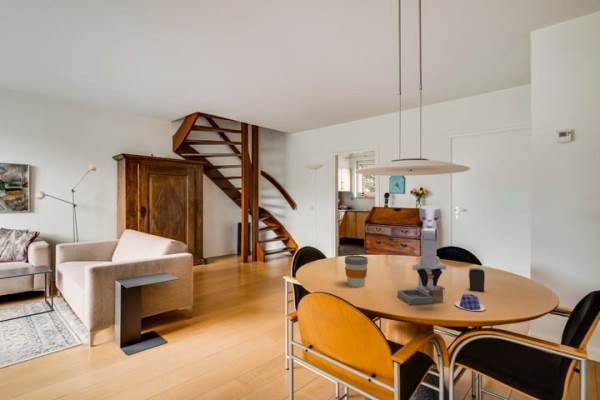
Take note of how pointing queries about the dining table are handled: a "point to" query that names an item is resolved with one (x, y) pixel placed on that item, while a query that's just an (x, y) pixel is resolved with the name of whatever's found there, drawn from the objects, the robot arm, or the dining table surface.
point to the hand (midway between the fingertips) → (429, 285)
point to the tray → (415, 297)
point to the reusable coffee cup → (356, 270)
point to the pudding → (470, 303)
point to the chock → (437, 293)
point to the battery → (476, 279)
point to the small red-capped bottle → (429, 282)
